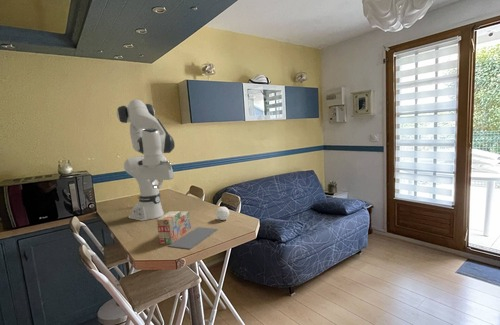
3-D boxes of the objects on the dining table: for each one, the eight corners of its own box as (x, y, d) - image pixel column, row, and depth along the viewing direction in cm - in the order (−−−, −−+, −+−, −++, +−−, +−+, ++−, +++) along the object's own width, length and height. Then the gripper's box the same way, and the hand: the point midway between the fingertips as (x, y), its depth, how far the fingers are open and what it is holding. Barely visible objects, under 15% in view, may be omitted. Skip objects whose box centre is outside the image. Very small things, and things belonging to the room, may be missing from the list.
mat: (168, 246, 122) (168, 245, 122) (198, 227, 144) (198, 227, 144) (190, 249, 117) (190, 248, 117) (217, 229, 139) (217, 228, 139)
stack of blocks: (180, 227, 146) (178, 205, 145) (190, 227, 145) (188, 205, 143) (159, 244, 125) (156, 219, 124) (171, 244, 124) (168, 219, 123)
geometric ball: (222, 223, 157) (224, 210, 161) (231, 220, 152) (232, 207, 156) (212, 219, 152) (213, 206, 157) (221, 216, 147) (222, 203, 151)
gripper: (174, 159, 133) (177, 187, 134) (143, 160, 141) (146, 186, 143) (166, 161, 127) (169, 190, 129) (134, 162, 135) (137, 189, 137)
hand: (157, 188), depth 136 cm, fingers closed
